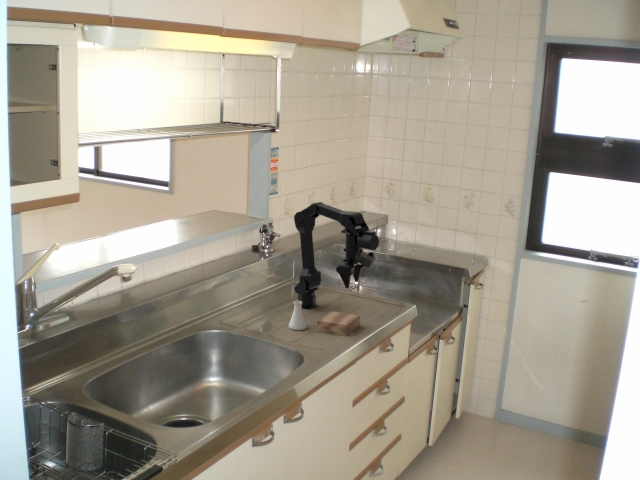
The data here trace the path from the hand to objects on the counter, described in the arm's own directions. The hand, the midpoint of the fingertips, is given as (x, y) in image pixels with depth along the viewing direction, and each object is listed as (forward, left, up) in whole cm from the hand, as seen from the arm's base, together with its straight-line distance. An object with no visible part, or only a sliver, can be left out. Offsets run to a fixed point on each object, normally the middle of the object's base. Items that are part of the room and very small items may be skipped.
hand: (352, 285), depth 267 cm
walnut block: (0, -12, -14) cm, 18 cm away
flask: (-14, -18, -14) cm, 27 cm away
